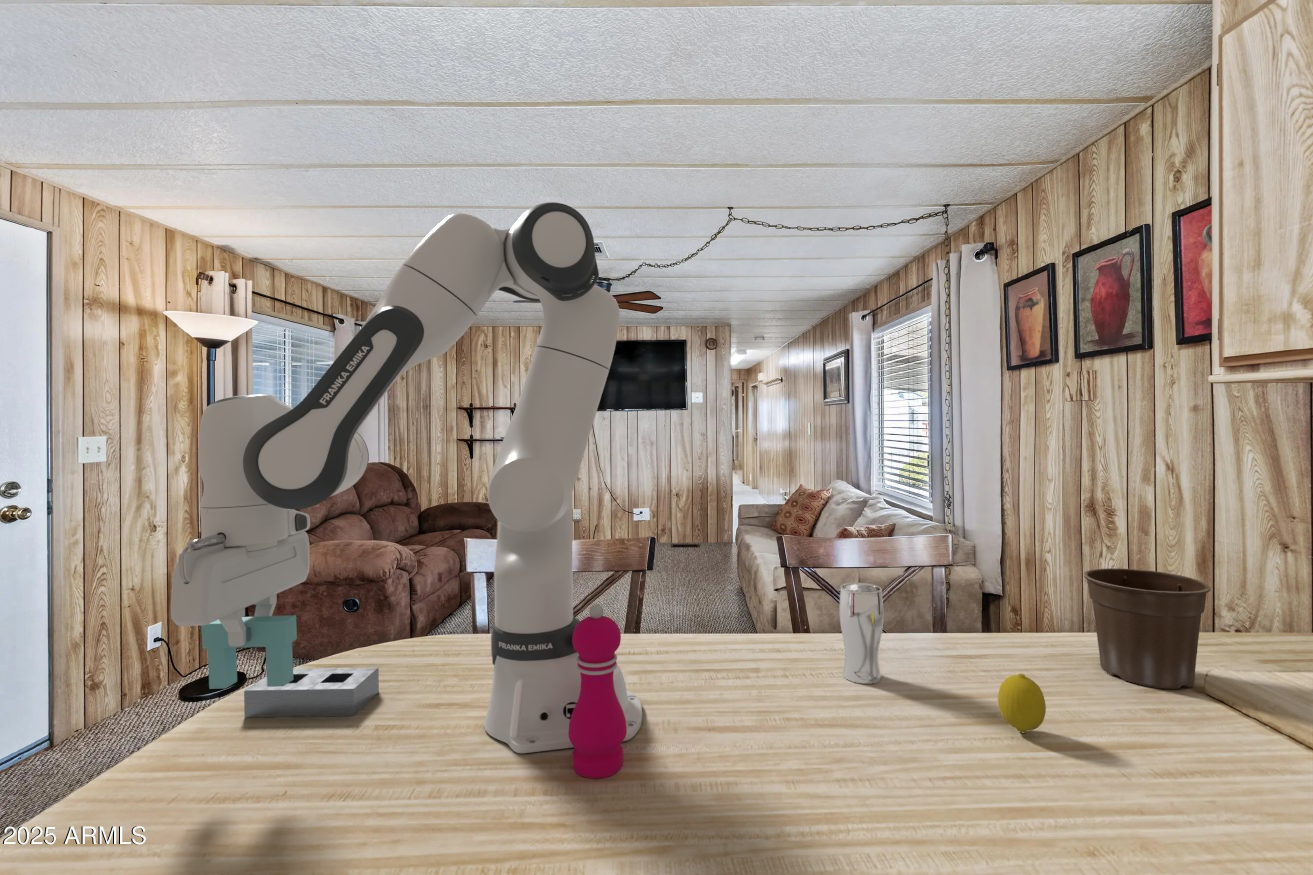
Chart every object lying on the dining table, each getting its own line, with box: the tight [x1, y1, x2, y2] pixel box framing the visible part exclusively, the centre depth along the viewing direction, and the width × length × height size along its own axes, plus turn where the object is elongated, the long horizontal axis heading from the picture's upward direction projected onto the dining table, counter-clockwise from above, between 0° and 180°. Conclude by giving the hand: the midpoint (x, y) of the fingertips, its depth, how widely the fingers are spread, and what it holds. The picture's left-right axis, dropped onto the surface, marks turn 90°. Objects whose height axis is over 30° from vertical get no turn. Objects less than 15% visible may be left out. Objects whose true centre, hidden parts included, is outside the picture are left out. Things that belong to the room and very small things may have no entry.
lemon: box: [997, 673, 1047, 733], centre depth 81 cm, size 6×6×8 cm
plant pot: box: [1083, 567, 1212, 690], centre depth 99 cm, size 16×16×16 cm
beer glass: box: [839, 582, 884, 685], centre depth 100 cm, size 7×7×15 cm
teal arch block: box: [201, 614, 298, 690], centre depth 74 cm, size 10×2×8 cm, turn 91°
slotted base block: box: [243, 666, 380, 719], centre depth 92 cm, size 16×8×4 cm, turn 91°
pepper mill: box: [568, 603, 627, 779], centre depth 74 cm, size 7×7×20 cm
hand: (250, 638), depth 74 cm, fingers closed on teal arch block, 2 cm apart
